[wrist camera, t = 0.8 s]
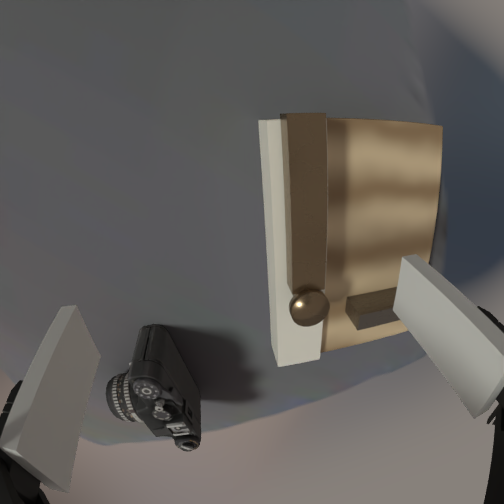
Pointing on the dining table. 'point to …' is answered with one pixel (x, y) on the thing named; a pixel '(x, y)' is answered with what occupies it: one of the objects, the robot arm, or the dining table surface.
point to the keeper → (372, 308)
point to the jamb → (282, 256)
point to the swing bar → (305, 213)
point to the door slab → (376, 213)
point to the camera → (158, 390)
